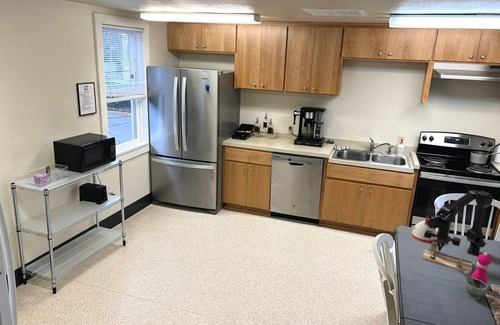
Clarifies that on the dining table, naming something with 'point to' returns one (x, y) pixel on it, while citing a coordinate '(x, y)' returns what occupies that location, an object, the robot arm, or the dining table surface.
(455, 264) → the gauge board
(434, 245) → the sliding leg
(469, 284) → the mortar and pestle
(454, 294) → the dining table surface
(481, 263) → the pepper mill
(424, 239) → the white dome
